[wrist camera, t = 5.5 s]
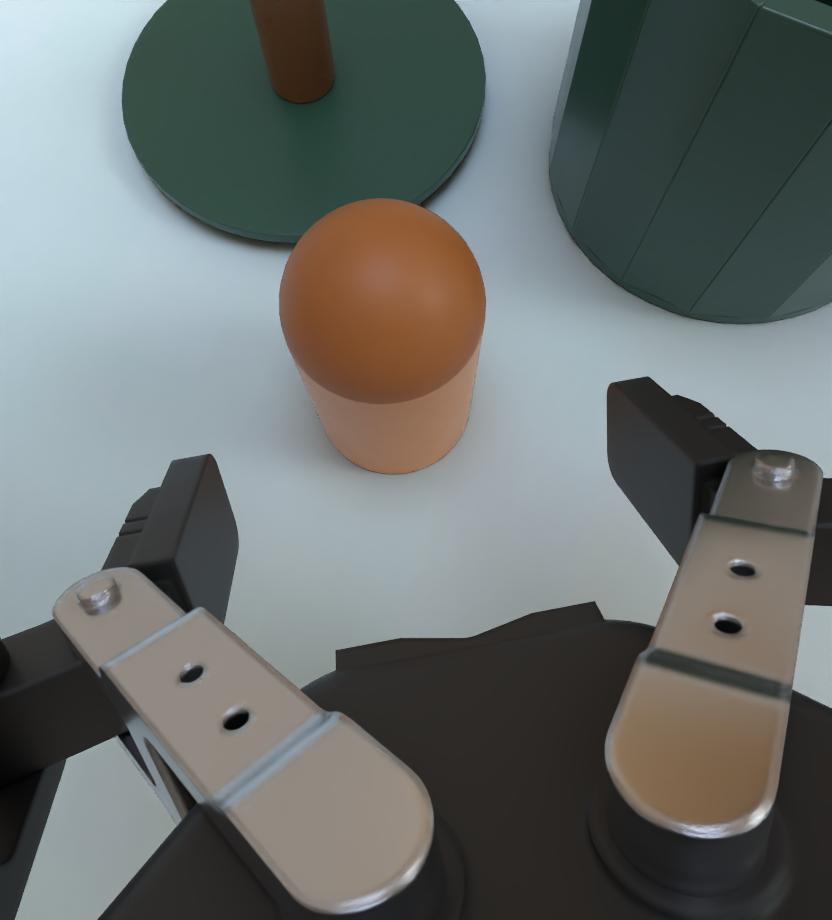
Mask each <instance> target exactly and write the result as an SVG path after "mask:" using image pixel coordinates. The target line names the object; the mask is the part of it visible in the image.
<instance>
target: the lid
mask: <svg viewBox="0 0 832 920" xmlns="http://www.w3.org/2000/svg"><path fill="white" fill-rule="evenodd" d="M485 77H486V75H485V68H484V60H483V55H482V52H481V48H480V45H479V42H478V39H477V36H476V34H475V32H474V30H473V28H472V26H471V24H470V22H469V20H468V19H467V17H466V16H465V14H464V13H463V11H462V10H461V9H460V7H459V6H458V4H457V3H456V2H455V1H454V0H167V1H166V2H165V3H164V4H163V5H162V6H161V7H160V8H159V9H158V10H157V11H156V13H155V14H154V15H153V17H152V18H151V19H150V21H149V22H148V23H147V25H146V26H145V27H144V29H143V30H142V32H141V34H140V36H139V38H138V39H137V41H136V43H135V45H134V47H133V50H132V52H131V55H130V57H129V60H128V62H127V66H126V71H125V75H124V80H123V89H122V109H123V119H124V124H125V128H126V131H127V135H128V138H129V141H130V143H131V145H132V148H133V150H134V152H135V154H136V156H137V158H138V160H139V162H140V164H141V165H142V167H143V168H144V170H145V171H146V173H147V174H148V175H149V177H150V178H151V180H152V181H153V183H154V184H155V185H156V186H157V187H158V188H159V189H160V190H161V191H162V192H163V193H164V194H165V195H166V196H167V197H168V198H169V199H170V200H171V201H173V202H174V203H175V204H176V205H178V206H179V207H180V208H182V209H183V210H184V211H186V212H187V213H189V214H191V215H192V216H194V217H196V218H198V219H199V220H201V221H203V222H204V223H207V224H209V225H212V226H214V227H216V228H219V229H221V230H223V231H226V232H229V233H233V234H236V235H240V236H243V237H247V238H252V239H258V240H264V241H271V242H288V243H298V241H299V240H300V239H301V237H302V236H303V235H304V234H305V232H306V231H307V230H308V229H309V228H310V227H311V226H313V225H314V224H315V223H316V222H317V221H319V220H320V219H321V218H323V217H324V216H325V215H327V214H328V213H330V212H332V211H333V210H335V209H337V208H339V207H342V206H344V205H346V204H349V203H353V202H356V201H360V200H366V199H376V198H387V199H396V200H402V201H406V202H410V203H413V204H416V205H418V204H420V203H421V202H422V201H424V200H425V199H426V198H427V197H429V196H430V195H431V194H433V193H434V192H435V191H436V190H437V189H438V188H439V187H440V186H441V185H442V184H443V183H444V182H445V181H446V180H447V179H448V178H449V177H450V176H451V174H452V173H453V172H454V170H455V169H456V168H457V166H458V165H459V164H460V162H461V161H462V160H463V158H464V156H465V155H466V153H467V151H468V149H469V147H470V146H471V144H472V142H473V140H474V137H475V135H476V132H477V129H478V126H479V124H480V121H481V116H482V111H483V106H484V99H485Z"/></svg>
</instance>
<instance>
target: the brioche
mask: <svg viewBox="0 0 832 920" xmlns="http://www.w3.org/2000/svg"><path fill="white" fill-rule="evenodd" d="M485 310H486V297H485V288H484V283H483V279H482V276H481V272H480V268H479V266H478V264H477V261H476V259H475V257H474V255H473V253H472V252H471V250H470V248H469V247H468V245H467V243H466V242H465V241H464V239H463V238H462V237H461V236H460V235H459V233H458V232H457V231H456V230H455V229H454V228H453V227H452V226H450V225H449V224H448V223H447V222H446V221H445V220H444V219H442V218H441V217H439V216H438V215H437V214H435V213H433V212H431V211H429V210H428V209H425V208H423V207H421V206H418V205H416V204H413V203H410V202H406V201H402V200H396V199H387V198H376V199H366V200H360V201H356V202H353V203H349V204H346V205H344V206H342V207H339V208H337V209H335V210H333V211H332V212H330V213H328V214H327V215H325V216H324V217H323V218H321V219H320V220H319V221H317V222H316V223H315V224H314V225H313V226H311V227H310V228H309V229H308V230H307V231H306V232H305V234H304V235H303V236H302V237H301V239H300V240H299V241H298V243H297V245H296V246H295V248H294V250H293V251H292V253H291V255H290V257H289V259H288V261H287V263H286V266H285V269H284V273H283V276H282V280H281V285H280V292H279V315H280V321H281V327H282V330H283V334H284V337H285V340H286V343H287V346H288V348H289V350H290V353H291V355H292V357H293V359H294V362H295V364H296V366H297V368H298V371H299V373H300V375H301V378H302V380H303V382H304V384H305V387H306V389H307V391H308V393H309V396H310V398H311V400H312V403H313V405H314V407H315V409H316V412H317V414H318V416H319V418H320V421H321V423H322V425H323V427H324V430H325V432H326V434H327V436H328V438H329V439H330V441H331V442H332V444H333V445H334V446H335V448H336V449H337V450H338V451H339V452H340V453H341V454H342V455H343V456H345V457H346V458H347V459H348V460H350V461H351V462H353V463H355V464H356V465H358V466H360V467H363V468H365V469H368V470H371V471H374V472H379V473H385V474H401V473H408V472H413V471H417V470H420V469H423V468H425V467H427V466H429V465H431V464H434V463H435V462H437V461H438V460H440V459H441V458H442V457H444V456H445V455H446V454H447V453H448V452H449V451H450V450H451V449H452V448H453V447H454V446H455V445H456V443H457V442H458V440H459V439H460V437H461V436H462V433H463V431H464V429H465V427H466V424H467V421H468V418H469V412H470V406H471V400H472V394H473V388H474V382H475V376H476V370H477V364H478V358H479V352H480V346H481V340H482V334H483V329H484V323H485Z"/></svg>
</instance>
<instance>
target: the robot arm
mask: <svg viewBox="0 0 832 920" xmlns="http://www.w3.org/2000/svg"><path fill="white" fill-rule="evenodd" d="M607 455H608V463H609V467H610V471H611V474H612V476H613V478H614V480H615V482H616V483H617V485H618V486H619V487H620V489H621V490H622V491H623V493H624V494H625V495H626V497H627V498H628V499H629V500H630V502H631V503H632V504H633V506H634V507H635V508H636V510H637V511H638V512H639V514H640V515H641V516H642V518H643V519H644V520H645V522H646V523H647V524H648V526H649V527H650V528H651V530H652V531H653V532H654V534H655V535H656V536H657V538H658V539H659V540H660V542H661V543H662V544H663V546H664V547H665V548H666V550H667V551H668V552H669V554H670V555H671V556H672V558H673V559H674V560H675V561H676V563H677V564H678V565H679V568H678V571H677V574H676V576H675V579H674V581H673V584H672V587H671V589H670V592H669V594H668V597H667V600H666V602H665V605H664V607H663V610H662V613H661V615H660V618H659V620H658V623H657V626H656V627H654V626H650V625H647V624H642V623H637V622H631V621H622V620H604V618H603V616H602V614H601V612H600V610H599V609H598V607H597V605H596V603H595V601H594V602H588V603H583V604H578V605H573V606H567V607H562V608H557V609H551V610H546V611H541V612H536V613H531V614H529V615H526V616H524V617H521V618H519V619H516V620H514V621H511V622H509V623H506V624H504V625H501V626H499V627H496V628H494V629H491V630H489V631H486V632H484V633H481V634H479V635H476V636H473V637H469V638H399V639H393V640H388V641H383V642H378V643H372V644H367V645H362V646H357V647H351V648H346V649H341V650H336V671H334V672H331V673H329V674H326V675H324V676H322V677H321V678H319V679H317V680H315V681H313V682H311V683H310V684H308V685H306V686H305V687H303V688H302V689H300V690H299V689H298V688H297V687H296V686H295V685H293V684H292V683H291V682H290V681H289V680H288V679H286V678H285V677H284V676H283V675H282V674H281V673H279V672H278V671H277V670H276V669H275V668H274V667H272V666H271V665H270V664H269V663H268V662H267V661H265V660H264V659H263V658H262V657H261V656H260V655H258V654H257V653H256V652H255V651H254V650H253V649H251V648H250V647H249V646H248V645H247V644H246V643H244V642H243V641H242V640H241V639H240V638H239V637H237V636H236V635H235V634H234V633H233V632H232V631H230V630H229V629H228V628H227V627H226V626H225V625H224V621H225V616H226V610H227V605H228V600H229V595H230V590H231V585H232V580H233V575H234V570H235V564H236V559H237V554H238V547H239V540H238V531H237V526H236V521H235V518H234V515H233V512H232V509H231V506H230V502H229V499H228V496H227V493H226V490H225V487H224V484H223V481H222V478H221V475H220V471H219V468H218V465H217V463H216V460H215V459H214V457H213V456H212V455H211V454H206V455H200V456H195V457H189V458H184V459H178V460H173V461H172V462H171V464H170V466H169V469H168V471H167V473H166V476H165V478H164V480H163V483H162V485H161V487H158V488H152V489H149V490H148V491H147V492H146V493H145V494H144V495H143V496H142V497H140V498H139V499H138V500H137V501H136V502H135V503H134V504H133V505H132V507H131V509H130V511H129V513H128V515H127V517H126V520H125V524H123V526H122V528H121V530H120V532H119V537H117V538H116V540H115V543H114V545H113V547H112V549H111V551H110V553H109V555H108V557H107V559H106V561H105V563H104V566H103V568H102V570H101V571H99V572H97V573H94V574H91V575H89V576H87V577H85V578H83V579H81V580H80V581H78V582H76V583H75V584H73V585H72V586H70V587H69V588H68V589H67V590H66V591H64V592H63V594H62V595H61V596H60V597H59V598H58V599H57V601H56V602H55V604H54V607H53V611H52V613H53V617H54V619H53V620H51V621H49V622H46V623H44V624H41V625H39V626H36V627H34V628H31V629H28V630H26V631H23V632H20V633H18V634H15V635H13V636H10V637H7V638H5V639H1V638H0V920H15V917H16V914H17V911H18V908H19V905H20V902H21V898H22V895H23V892H24V889H25V886H26V883H27V880H28V877H29V874H30V871H31V868H32V865H33V862H34V859H35V855H36V852H37V849H38V846H39V843H40V840H41V837H42V834H43V831H44V828H45V825H46V822H47V819H48V816H49V812H50V809H51V806H52V803H53V800H54V797H55V794H56V791H57V788H58V785H59V782H60V779H61V776H62V773H63V769H64V766H65V763H66V758H68V757H71V756H73V755H75V754H77V753H80V752H82V751H84V750H86V749H89V748H91V747H93V746H95V745H98V744H100V743H102V742H104V741H106V740H109V739H111V738H113V737H116V739H117V741H118V743H119V744H120V745H121V747H122V748H123V750H124V751H125V752H126V754H127V755H128V757H129V758H130V759H131V761H132V762H133V763H134V765H135V766H136V768H137V769H138V770H139V772H140V773H141V775H142V776H143V777H144V779H145V780H146V781H147V783H148V784H149V786H150V787H151V788H152V790H153V791H154V793H155V794H156V795H157V797H158V798H159V800H160V801H161V802H162V804H163V805H164V807H165V808H166V809H167V811H168V813H169V814H170V816H171V817H172V819H173V821H174V822H175V824H176V826H177V827H176V828H175V829H174V830H173V831H172V832H171V834H170V835H169V836H168V837H167V838H166V839H165V841H164V842H163V843H162V844H161V845H160V847H159V848H158V849H157V850H156V851H155V852H154V854H153V855H152V856H151V857H150V858H149V859H148V861H147V862H146V863H145V864H144V865H143V867H142V868H141V869H140V870H139V871H138V872H137V874H136V875H135V876H134V877H133V878H132V879H131V881H130V882H129V883H128V884H127V885H126V887H125V888H124V889H123V890H122V891H121V892H120V894H119V895H118V896H117V897H116V898H115V900H114V901H113V902H112V903H111V904H110V905H109V907H108V908H107V909H106V910H105V911H104V912H103V914H102V915H101V916H100V917H99V918H98V920H832V708H829V707H827V706H825V705H823V704H821V703H819V702H817V701H815V700H813V699H811V698H809V697H807V696H805V695H802V694H800V693H798V692H796V691H794V690H792V686H793V679H794V672H795V666H796V659H797V652H798V646H799V639H800V632H801V626H802V619H803V612H804V606H805V605H819V606H832V478H823V472H822V470H821V468H820V467H819V466H818V465H817V464H816V463H815V462H813V461H811V460H810V459H808V458H806V457H803V456H801V455H798V454H795V453H791V452H786V451H780V450H757V449H756V448H755V447H753V446H752V445H751V444H750V443H748V442H747V441H746V440H745V439H744V438H742V437H741V436H740V435H739V434H737V433H736V432H735V431H734V430H733V429H731V428H730V427H726V424H725V423H724V422H723V421H721V420H720V419H719V418H718V417H715V416H714V414H713V413H712V412H710V411H709V410H708V409H707V408H706V407H704V406H703V405H702V404H701V403H698V402H696V401H693V400H690V399H688V398H685V397H682V396H679V395H674V396H671V395H670V394H668V393H667V392H666V391H665V390H664V389H663V388H662V387H660V386H659V385H658V384H657V383H656V382H655V381H653V380H652V379H651V378H650V377H642V378H636V379H630V380H625V381H619V382H614V383H611V384H610V385H609V387H608V390H607Z"/></svg>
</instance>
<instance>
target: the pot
mask: <svg viewBox="0 0 832 920" xmlns="http://www.w3.org/2000/svg"><path fill="white" fill-rule="evenodd" d="M549 175H550V181H551V187H552V192H553V196H554V199H555V202H556V205H557V208H558V211H559V213H560V215H561V217H562V219H563V221H564V223H565V226H566V228H567V229H568V231H569V232H570V234H571V235H572V237H573V238H574V240H575V241H576V243H577V244H578V246H579V247H580V248H581V250H582V251H583V252H584V253H585V254H586V255H587V256H588V258H589V259H590V260H591V261H592V262H593V263H594V264H595V265H596V266H597V267H598V268H599V269H600V270H602V271H603V272H604V273H605V274H606V275H607V276H608V277H609V278H611V279H612V280H613V281H615V282H616V283H618V284H619V285H621V286H622V287H623V288H625V289H626V290H628V291H629V292H631V293H633V294H635V295H637V296H638V297H640V298H642V299H644V300H646V301H648V302H649V303H652V304H654V305H657V306H659V307H662V308H664V309H666V310H669V311H671V312H674V313H678V314H682V315H685V316H689V317H692V318H696V319H702V320H708V321H714V322H720V323H741V324H748V323H762V322H772V321H777V320H782V319H787V318H792V317H795V316H798V315H801V314H804V313H807V312H810V311H813V310H816V309H818V308H820V307H822V306H824V305H826V304H828V303H830V302H832V0H581V1H580V5H579V9H578V14H577V18H576V22H575V27H574V31H573V35H572V40H571V44H570V48H569V53H568V57H567V61H566V66H565V70H564V74H563V79H562V83H561V87H560V91H559V96H558V100H557V104H556V109H555V113H554V117H553V129H552V139H551V145H550V151H549Z"/></svg>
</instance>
